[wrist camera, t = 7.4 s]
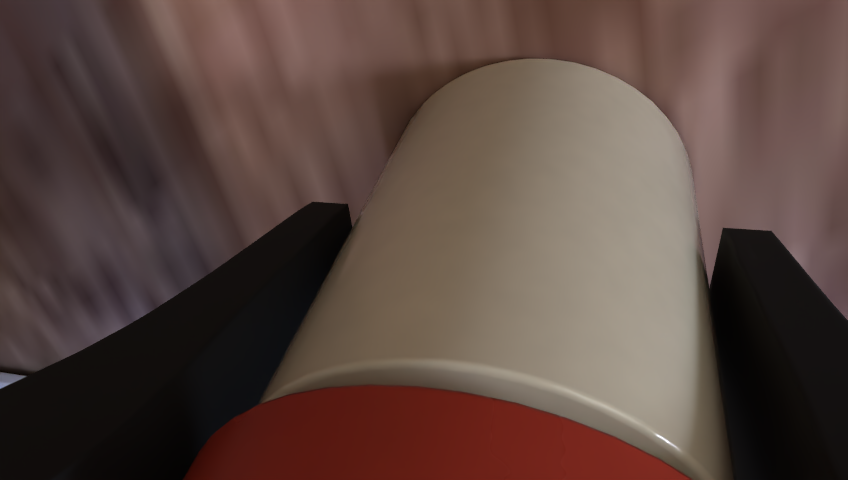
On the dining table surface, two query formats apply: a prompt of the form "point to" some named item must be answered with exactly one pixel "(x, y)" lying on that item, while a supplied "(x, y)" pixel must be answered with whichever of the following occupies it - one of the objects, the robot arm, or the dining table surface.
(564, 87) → the jam jar
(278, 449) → the jar lid
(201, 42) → the dining table surface
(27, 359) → the dining table surface
